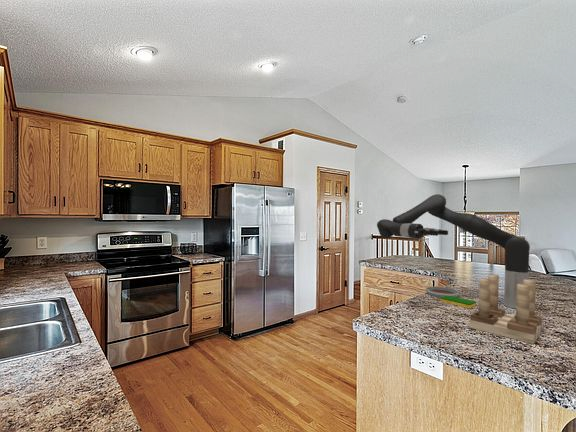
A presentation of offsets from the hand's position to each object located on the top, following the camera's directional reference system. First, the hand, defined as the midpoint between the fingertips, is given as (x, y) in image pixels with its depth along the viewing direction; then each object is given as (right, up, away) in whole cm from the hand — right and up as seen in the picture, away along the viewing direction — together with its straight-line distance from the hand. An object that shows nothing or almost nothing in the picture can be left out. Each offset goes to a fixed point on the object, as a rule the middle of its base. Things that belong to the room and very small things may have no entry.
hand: (442, 233), depth 147 cm
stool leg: (+4, -33, -24) cm, 41 cm away
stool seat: (+12, -36, -25) cm, 45 cm away
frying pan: (+15, -35, +30) cm, 49 cm away
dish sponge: (+11, -36, +8) cm, 38 cm away
